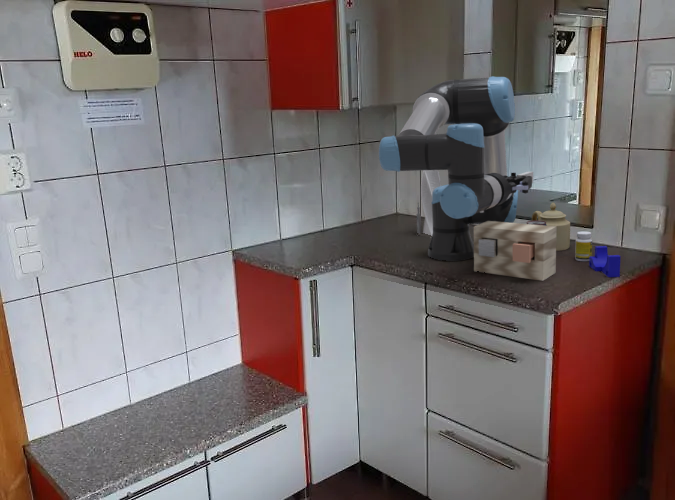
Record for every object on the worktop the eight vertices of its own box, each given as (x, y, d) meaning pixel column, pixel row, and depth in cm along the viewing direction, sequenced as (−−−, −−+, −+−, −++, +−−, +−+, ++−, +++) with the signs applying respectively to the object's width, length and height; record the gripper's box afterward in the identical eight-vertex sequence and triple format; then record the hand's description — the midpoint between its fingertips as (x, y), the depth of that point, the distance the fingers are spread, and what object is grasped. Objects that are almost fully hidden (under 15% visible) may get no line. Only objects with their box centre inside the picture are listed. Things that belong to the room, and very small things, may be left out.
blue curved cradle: (589, 266, 185) (589, 246, 183) (604, 265, 184) (605, 245, 183) (602, 278, 173) (603, 257, 172) (619, 277, 173) (620, 256, 171)
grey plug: (478, 255, 182) (478, 239, 181) (498, 245, 191) (498, 230, 190) (494, 257, 179) (494, 240, 178) (513, 247, 188) (513, 231, 187)
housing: (474, 271, 187) (473, 226, 183) (488, 263, 193) (487, 220, 190) (543, 280, 173) (543, 233, 170) (555, 272, 180) (556, 226, 177)
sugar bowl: (517, 247, 211) (518, 202, 207) (533, 240, 218) (534, 197, 215) (560, 252, 201) (561, 206, 197) (575, 245, 208) (576, 200, 205)
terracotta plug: (512, 260, 174) (512, 244, 173) (531, 250, 183) (531, 234, 182) (529, 263, 171) (529, 245, 170) (547, 252, 180) (547, 236, 179)
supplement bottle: (593, 261, 189) (593, 234, 187) (576, 261, 190) (577, 234, 188) (590, 257, 193) (591, 230, 191) (573, 257, 194) (574, 231, 192)
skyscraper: (432, 231, 243) (430, 159, 236) (447, 234, 236) (445, 160, 230) (415, 235, 238) (413, 161, 231) (431, 238, 232) (428, 162, 225)
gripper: (461, 206, 147) (506, 190, 164) (514, 209, 139) (555, 192, 156) (461, 173, 145) (506, 161, 163) (514, 175, 137) (556, 162, 154)
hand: (530, 177), depth 159 cm, fingers closed
